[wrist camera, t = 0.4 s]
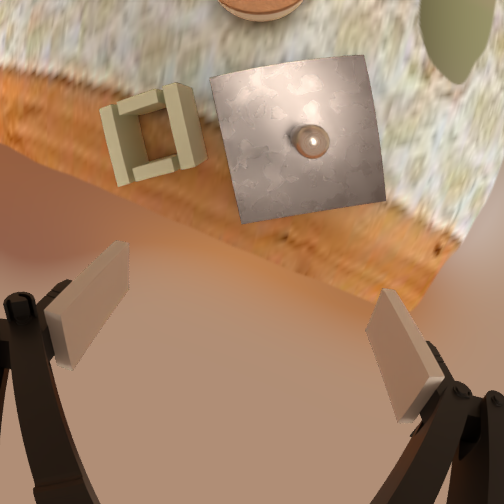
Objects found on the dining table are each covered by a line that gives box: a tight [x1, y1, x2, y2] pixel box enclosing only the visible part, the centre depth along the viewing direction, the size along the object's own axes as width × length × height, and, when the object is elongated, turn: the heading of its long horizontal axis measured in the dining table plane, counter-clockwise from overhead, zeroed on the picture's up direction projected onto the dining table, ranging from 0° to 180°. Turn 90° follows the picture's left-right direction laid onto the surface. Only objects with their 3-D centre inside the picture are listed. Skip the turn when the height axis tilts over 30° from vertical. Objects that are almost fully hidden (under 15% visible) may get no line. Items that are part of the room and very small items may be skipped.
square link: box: [99, 82, 208, 187], centre depth 34 cm, size 9×9×7 cm
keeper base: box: [210, 55, 386, 224], centre depth 31 cm, size 18×18×11 cm
